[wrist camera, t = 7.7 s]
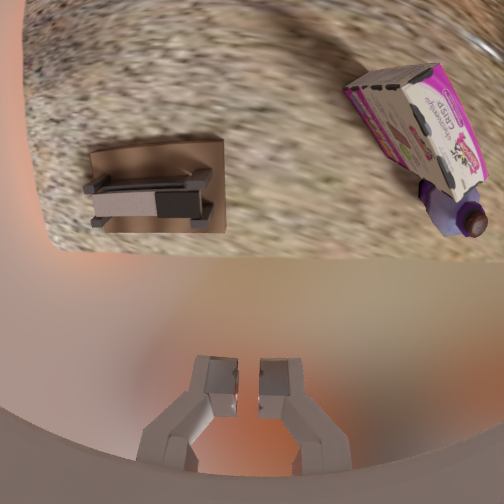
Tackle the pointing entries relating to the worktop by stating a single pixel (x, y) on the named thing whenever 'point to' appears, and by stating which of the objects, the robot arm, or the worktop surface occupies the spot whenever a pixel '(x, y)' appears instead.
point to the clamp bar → (149, 203)
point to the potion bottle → (453, 211)
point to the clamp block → (193, 182)
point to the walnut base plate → (165, 164)
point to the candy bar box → (421, 125)
